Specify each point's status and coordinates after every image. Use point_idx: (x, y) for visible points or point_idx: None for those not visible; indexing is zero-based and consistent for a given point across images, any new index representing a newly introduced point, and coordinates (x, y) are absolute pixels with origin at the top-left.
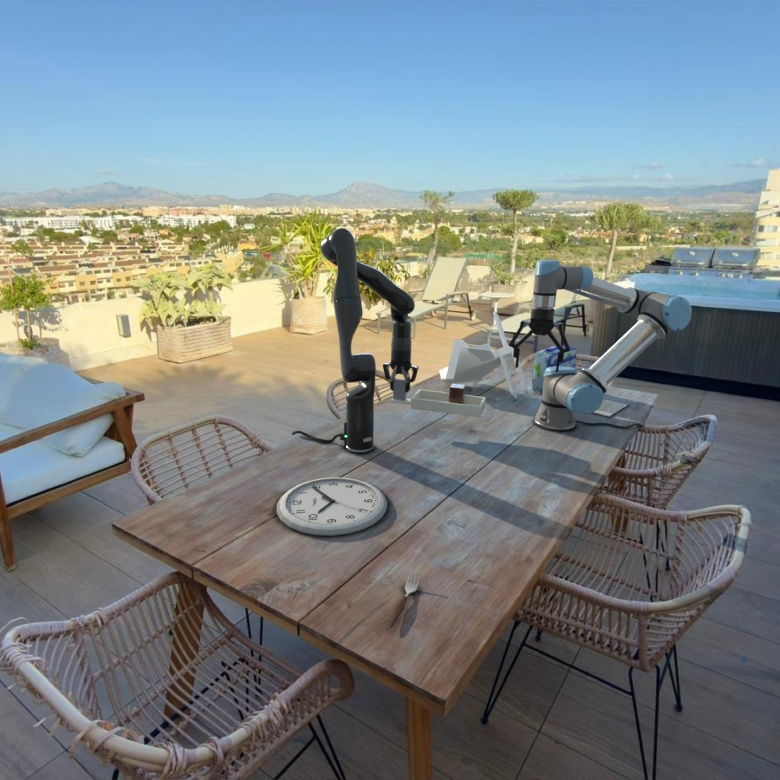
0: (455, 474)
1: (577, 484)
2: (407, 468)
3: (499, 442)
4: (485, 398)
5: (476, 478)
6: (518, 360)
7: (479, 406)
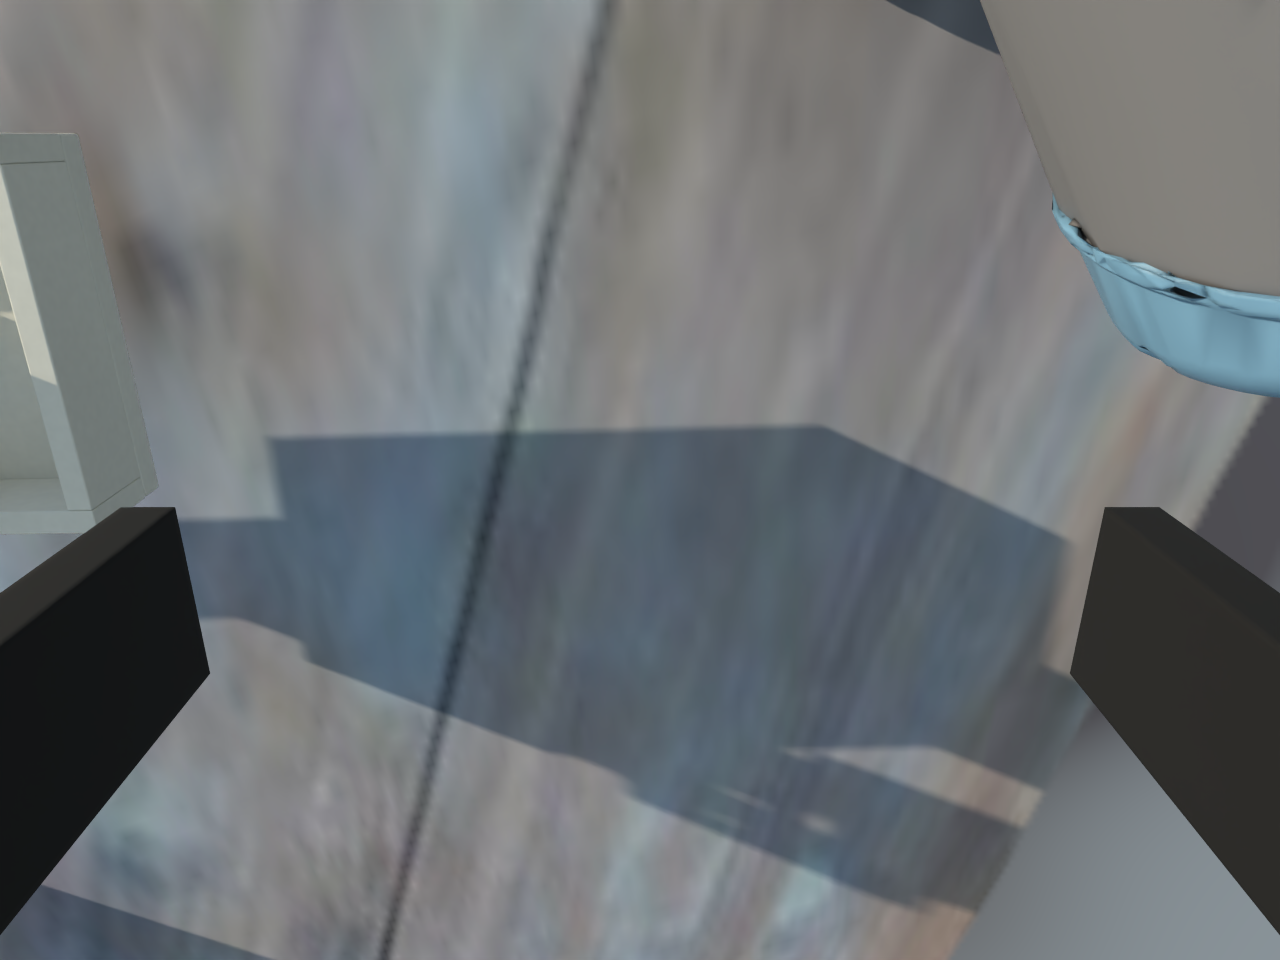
0: (306, 927)
1: (937, 840)
2: (51, 944)
3: (421, 426)
4: (6, 162)
5: (420, 932)
6: (100, 695)
7: (75, 518)
